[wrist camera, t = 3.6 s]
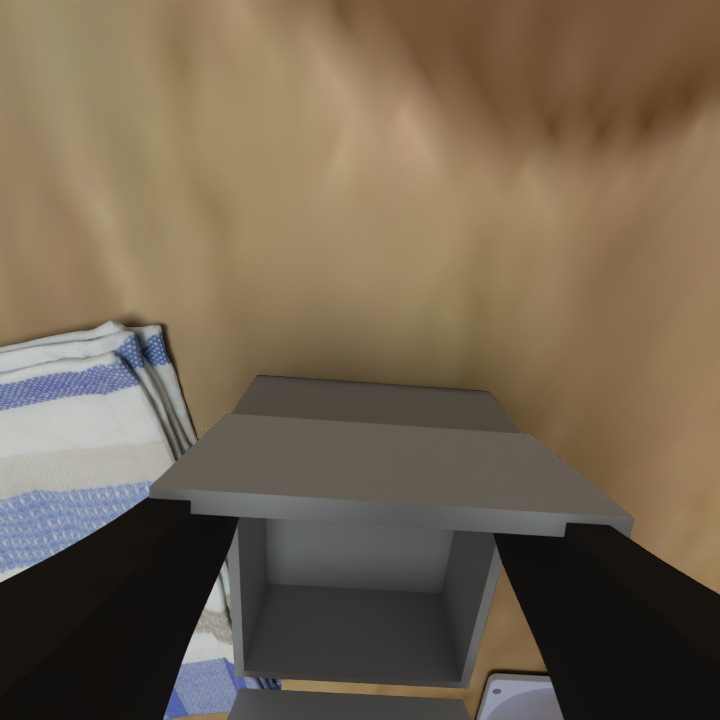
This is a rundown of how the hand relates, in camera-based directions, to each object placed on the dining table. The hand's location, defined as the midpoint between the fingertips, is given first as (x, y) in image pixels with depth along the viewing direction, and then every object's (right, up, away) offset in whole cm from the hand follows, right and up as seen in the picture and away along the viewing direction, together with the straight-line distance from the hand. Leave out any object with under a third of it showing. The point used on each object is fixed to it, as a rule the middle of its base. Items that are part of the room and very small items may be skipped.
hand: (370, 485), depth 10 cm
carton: (0, -3, +8) cm, 9 cm away
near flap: (0, +1, -1) cm, 1 cm away
